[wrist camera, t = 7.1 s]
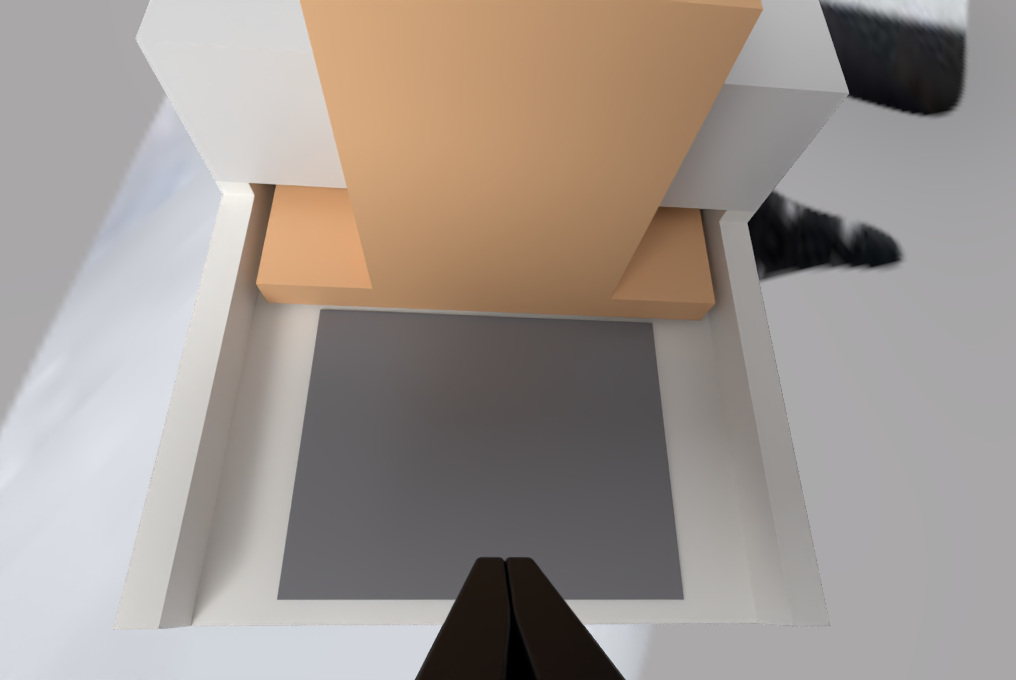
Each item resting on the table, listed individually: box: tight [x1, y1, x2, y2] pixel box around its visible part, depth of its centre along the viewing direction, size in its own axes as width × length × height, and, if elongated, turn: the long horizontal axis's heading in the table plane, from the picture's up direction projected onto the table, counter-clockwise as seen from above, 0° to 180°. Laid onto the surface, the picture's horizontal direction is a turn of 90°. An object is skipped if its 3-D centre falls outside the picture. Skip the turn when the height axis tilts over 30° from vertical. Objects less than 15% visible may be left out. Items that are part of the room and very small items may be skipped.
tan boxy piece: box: [256, 0, 763, 320], centre depth 13 cm, size 8×12×9 cm
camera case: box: [113, 0, 849, 629], centre depth 16 cm, size 22×14×9 cm, turn 0°
